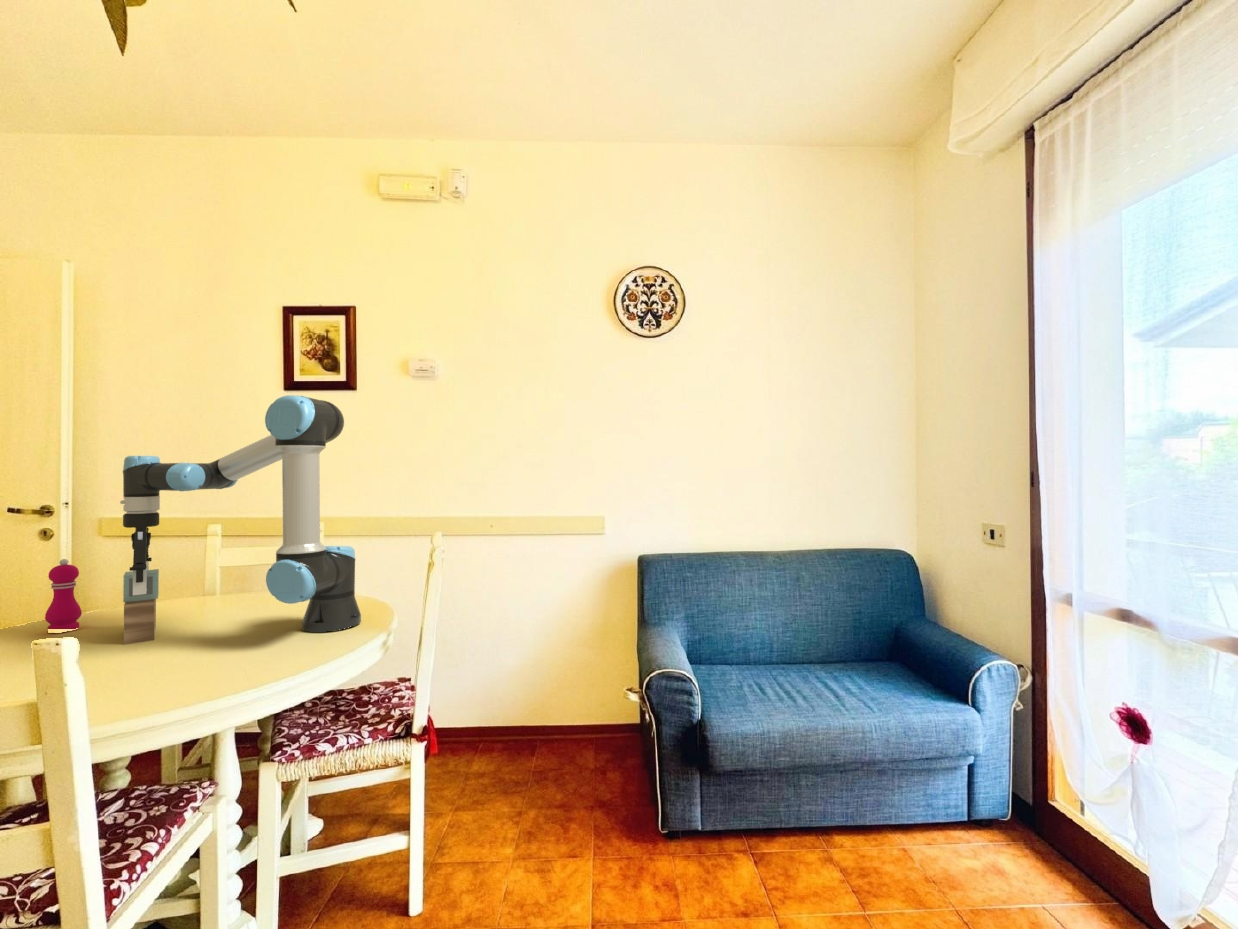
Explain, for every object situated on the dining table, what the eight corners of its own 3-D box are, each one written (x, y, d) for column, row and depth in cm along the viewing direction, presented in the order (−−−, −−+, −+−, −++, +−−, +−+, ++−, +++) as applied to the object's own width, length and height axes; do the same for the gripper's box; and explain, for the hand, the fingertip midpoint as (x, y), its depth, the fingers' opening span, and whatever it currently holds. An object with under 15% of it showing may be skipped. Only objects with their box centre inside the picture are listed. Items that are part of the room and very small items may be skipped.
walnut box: (154, 640, 146) (154, 602, 146) (123, 644, 143) (123, 605, 143) (155, 626, 159) (156, 591, 159) (127, 630, 155) (128, 594, 155)
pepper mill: (81, 625, 159) (81, 556, 159) (81, 631, 154) (82, 559, 154) (45, 630, 154) (45, 559, 154) (44, 636, 149) (44, 562, 149)
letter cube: (157, 598, 150) (158, 573, 150) (123, 602, 146) (123, 576, 146) (158, 593, 156) (158, 569, 156) (125, 597, 151) (125, 572, 151)
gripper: (126, 509, 158) (125, 584, 158) (119, 516, 139) (118, 600, 139) (160, 508, 163) (159, 580, 163) (158, 514, 143) (157, 596, 143)
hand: (140, 590), depth 151 cm, fingers open, 13 cm apart
